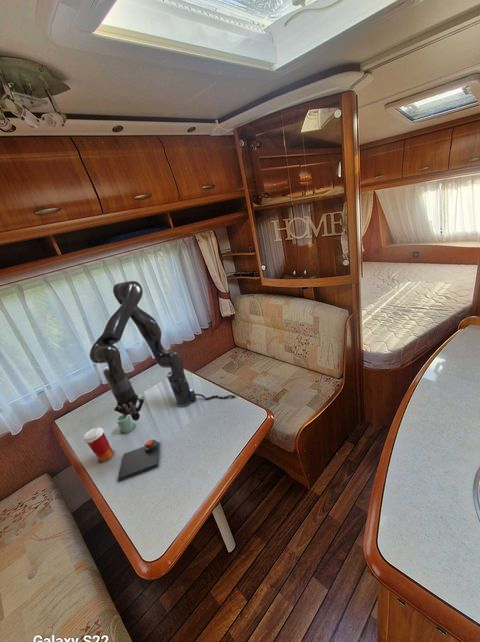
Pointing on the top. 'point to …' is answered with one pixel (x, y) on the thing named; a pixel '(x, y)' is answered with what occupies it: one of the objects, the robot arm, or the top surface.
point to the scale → (139, 461)
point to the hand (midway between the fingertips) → (137, 419)
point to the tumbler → (125, 423)
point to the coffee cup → (98, 443)
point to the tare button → (149, 443)
